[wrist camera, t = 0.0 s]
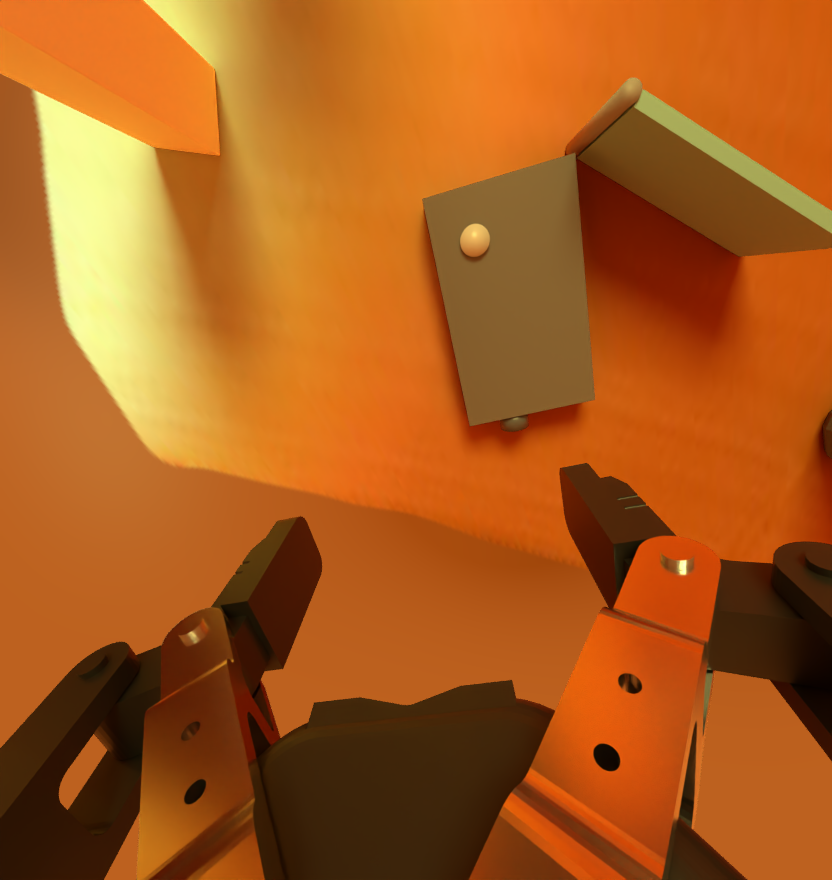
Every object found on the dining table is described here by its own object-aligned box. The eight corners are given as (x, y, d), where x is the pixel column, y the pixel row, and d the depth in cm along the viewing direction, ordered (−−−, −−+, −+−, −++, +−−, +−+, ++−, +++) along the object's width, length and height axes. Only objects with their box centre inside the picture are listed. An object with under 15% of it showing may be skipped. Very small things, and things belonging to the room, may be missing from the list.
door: (562, 153, 32) (616, 97, 22) (570, 137, 31) (629, 73, 22) (735, 258, 34) (852, 248, 25) (746, 244, 34) (869, 229, 24)
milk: (215, 69, 31) (-199, -342, 11) (221, 158, 33) (-113, -42, 13) (141, 59, 31) (-415, -370, 11) (152, 149, 33) (-291, -65, 13)
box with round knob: (423, 206, 34) (422, 197, 30) (561, 166, 32) (576, 151, 29) (470, 428, 42) (473, 442, 38) (583, 404, 40) (598, 416, 36)
